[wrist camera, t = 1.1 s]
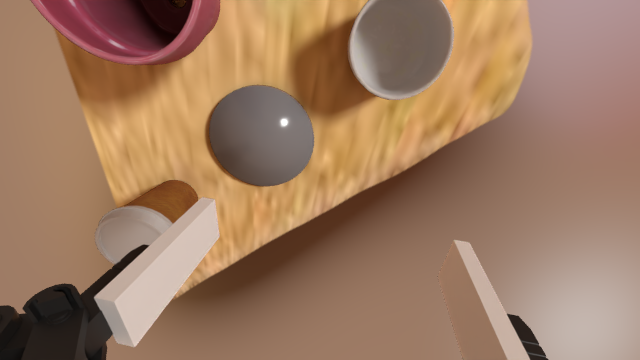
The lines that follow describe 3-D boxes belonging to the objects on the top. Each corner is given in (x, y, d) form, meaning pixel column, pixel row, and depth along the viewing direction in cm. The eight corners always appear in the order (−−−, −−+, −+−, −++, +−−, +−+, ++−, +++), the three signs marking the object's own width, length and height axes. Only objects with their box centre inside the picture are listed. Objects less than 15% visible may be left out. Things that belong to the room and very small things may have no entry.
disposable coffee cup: (153, 161, 39) (94, 201, 28) (215, 184, 41) (182, 230, 30) (142, 209, 43) (85, 261, 32) (199, 228, 45) (165, 283, 34)
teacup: (378, 107, 37) (395, 120, 30) (324, 50, 33) (328, 48, 26) (459, 25, 33) (502, 17, 26) (407, -50, 29) (439, -84, 22)
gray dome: (215, 72, 34) (212, 72, 33) (324, 99, 36) (325, 100, 35) (208, 172, 40) (206, 175, 39) (302, 191, 42) (302, 194, 41)
